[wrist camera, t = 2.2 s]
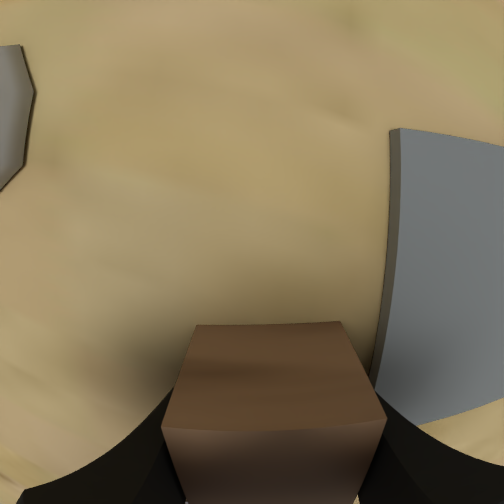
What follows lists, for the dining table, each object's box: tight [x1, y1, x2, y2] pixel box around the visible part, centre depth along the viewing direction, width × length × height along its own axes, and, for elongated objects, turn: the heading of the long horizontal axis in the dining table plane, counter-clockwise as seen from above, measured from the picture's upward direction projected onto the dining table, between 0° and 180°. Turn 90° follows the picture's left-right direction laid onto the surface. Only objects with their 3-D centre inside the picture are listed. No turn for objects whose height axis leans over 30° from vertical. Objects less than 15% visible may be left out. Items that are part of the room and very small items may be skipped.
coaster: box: [369, 128, 504, 426], centre depth 10 cm, size 12×12×1 cm
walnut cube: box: [161, 321, 387, 504], centre depth 9 cm, size 5×5×5 cm
